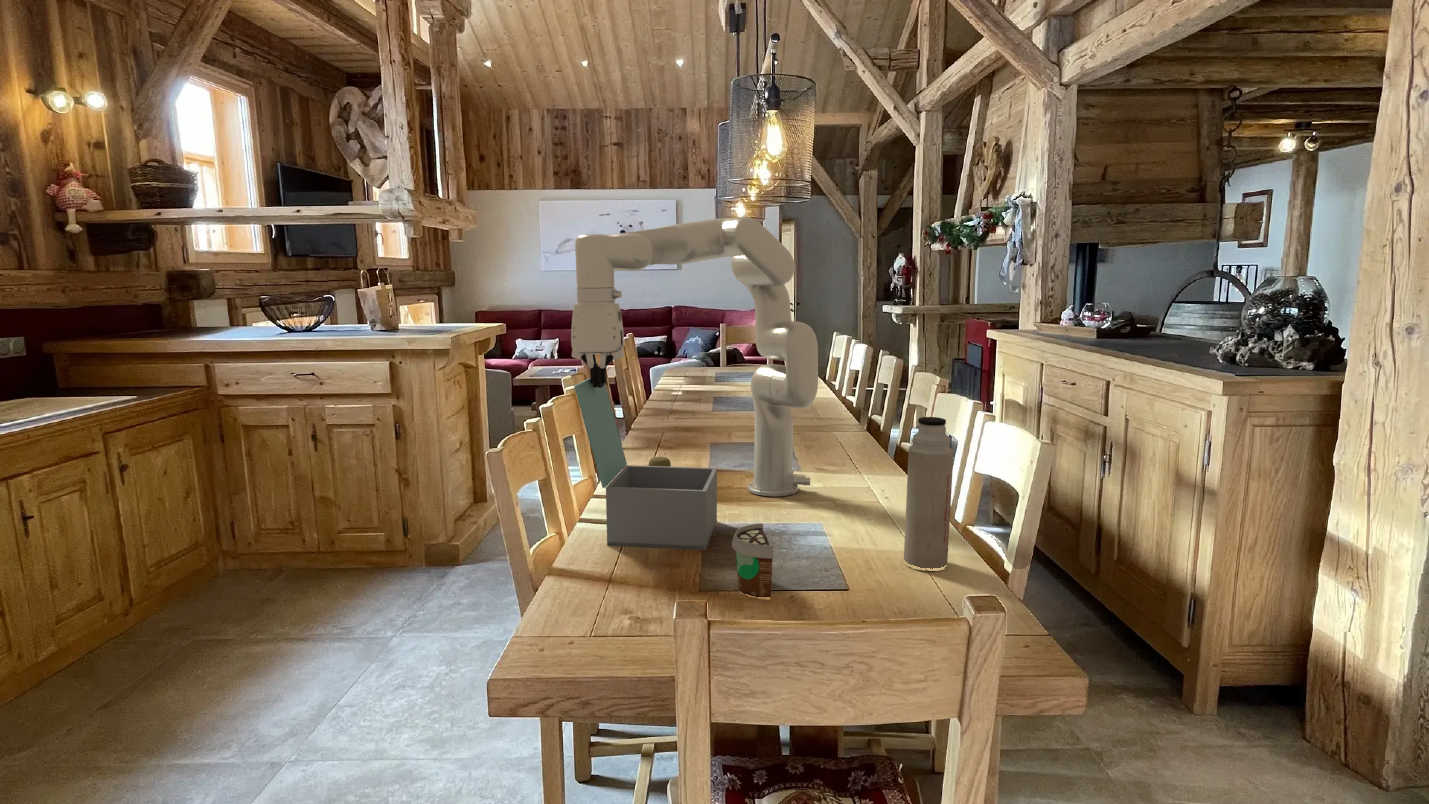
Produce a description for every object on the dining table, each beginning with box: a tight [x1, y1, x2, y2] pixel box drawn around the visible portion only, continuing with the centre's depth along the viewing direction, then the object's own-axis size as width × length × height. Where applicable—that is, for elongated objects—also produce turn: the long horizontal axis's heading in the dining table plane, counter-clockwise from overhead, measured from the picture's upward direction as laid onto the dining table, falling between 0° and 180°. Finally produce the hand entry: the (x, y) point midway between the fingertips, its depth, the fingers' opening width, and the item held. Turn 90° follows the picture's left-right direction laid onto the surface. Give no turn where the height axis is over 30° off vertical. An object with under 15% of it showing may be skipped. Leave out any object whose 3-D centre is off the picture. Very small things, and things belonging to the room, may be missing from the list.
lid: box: [573, 377, 628, 489], centre depth 163 cm, size 21×19×1 cm
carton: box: [605, 464, 718, 551], centre depth 165 cm, size 20×18×12 cm
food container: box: [731, 523, 774, 598], centre depth 136 cm, size 12×6×10 cm, turn 5°
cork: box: [647, 456, 672, 467], centre depth 186 cm, size 6×6×11 cm
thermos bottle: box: [903, 416, 955, 569], centre depth 146 cm, size 8×8×28 cm
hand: (598, 386), depth 162 cm, fingers closed
